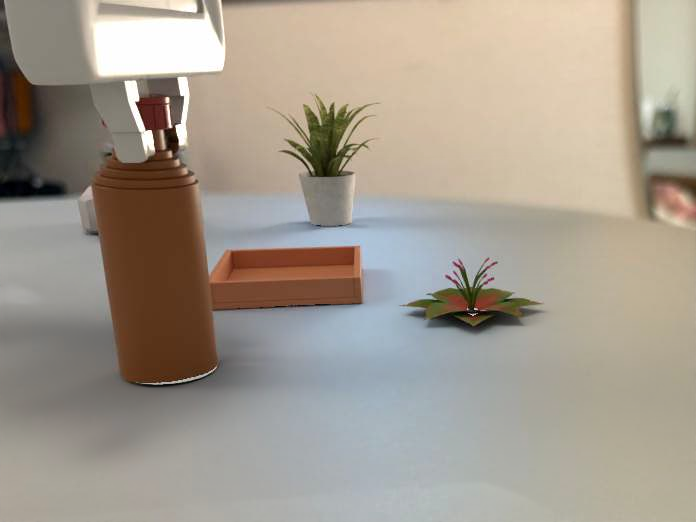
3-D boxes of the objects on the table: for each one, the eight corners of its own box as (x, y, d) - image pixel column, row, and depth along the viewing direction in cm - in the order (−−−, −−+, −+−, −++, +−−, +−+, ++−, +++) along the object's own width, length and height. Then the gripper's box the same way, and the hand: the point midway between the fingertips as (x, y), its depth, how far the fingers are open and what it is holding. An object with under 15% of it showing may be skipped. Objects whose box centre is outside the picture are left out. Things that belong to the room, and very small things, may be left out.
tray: (207, 310, 74) (203, 283, 73) (229, 273, 86) (225, 249, 85) (362, 303, 76) (360, 277, 75) (362, 268, 88) (360, 245, 87)
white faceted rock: (77, 245, 97) (92, 221, 110) (164, 240, 100) (169, 217, 113) (68, 203, 95) (85, 184, 108) (157, 199, 98) (163, 181, 111)
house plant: (418, 220, 113) (412, 89, 107) (345, 238, 102) (334, 93, 96) (338, 209, 120) (327, 86, 113) (262, 225, 109) (246, 89, 102)
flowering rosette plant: (373, 313, 73) (370, 261, 71) (470, 286, 82) (469, 239, 80) (474, 343, 66) (473, 286, 64) (569, 310, 75) (570, 259, 73)
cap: (141, 122, 56) (137, 91, 55) (187, 127, 55) (184, 96, 54) (88, 126, 53) (83, 93, 52) (135, 132, 51) (131, 98, 50)
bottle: (109, 386, 57) (64, 110, 50) (132, 353, 62) (96, 101, 55) (210, 384, 58) (180, 114, 51) (224, 352, 64) (199, 105, 57)
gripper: (66, -127, 39) (127, 179, 45) (227, -70, 58) (256, 140, 64) (-67, -124, 40) (9, 180, 45) (137, -68, 58) (173, 141, 64)
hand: (155, 156), depth 54 cm, fingers closed on bottle, cap, 4 cm apart
